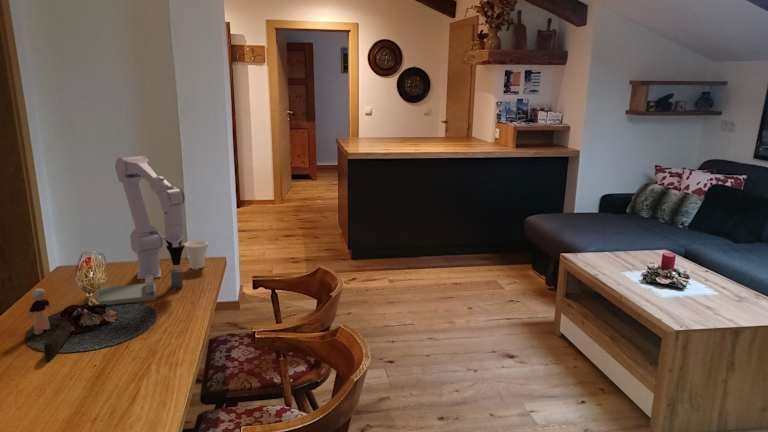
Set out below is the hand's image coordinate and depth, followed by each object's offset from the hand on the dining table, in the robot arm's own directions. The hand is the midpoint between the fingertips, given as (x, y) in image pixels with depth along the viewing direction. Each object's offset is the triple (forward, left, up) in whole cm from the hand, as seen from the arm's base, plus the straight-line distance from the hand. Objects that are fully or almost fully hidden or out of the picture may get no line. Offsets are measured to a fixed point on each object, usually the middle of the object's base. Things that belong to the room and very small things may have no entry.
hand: (175, 261), depth 192 cm
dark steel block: (0, 0, -9) cm, 9 cm away
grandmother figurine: (+25, -37, -9) cm, 46 cm away
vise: (+4, -17, -9) cm, 20 cm away
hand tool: (+37, -31, -10) cm, 49 cm away
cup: (-19, +8, -9) cm, 23 cm away
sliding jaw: (+4, -9, -7) cm, 12 cm away
